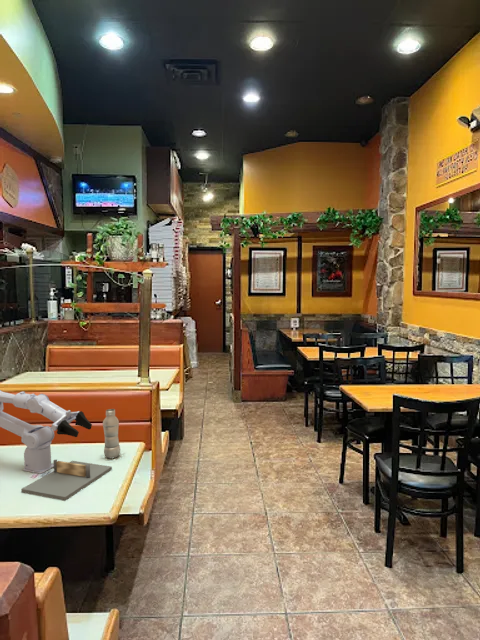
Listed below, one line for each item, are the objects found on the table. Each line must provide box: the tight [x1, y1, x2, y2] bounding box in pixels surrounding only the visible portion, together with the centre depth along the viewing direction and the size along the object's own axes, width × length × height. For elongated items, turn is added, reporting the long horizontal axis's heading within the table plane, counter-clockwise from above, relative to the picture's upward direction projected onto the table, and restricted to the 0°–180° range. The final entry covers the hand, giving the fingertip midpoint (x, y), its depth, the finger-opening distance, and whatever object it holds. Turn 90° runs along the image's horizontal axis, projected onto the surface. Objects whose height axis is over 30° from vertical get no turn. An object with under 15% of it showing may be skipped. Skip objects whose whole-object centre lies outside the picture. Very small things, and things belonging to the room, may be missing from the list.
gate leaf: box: [56, 460, 86, 477], centre depth 156 cm, size 13×1×4 cm, turn 71°
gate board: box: [20, 459, 113, 501], centre depth 154 cm, size 19×25×6 cm
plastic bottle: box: [102, 408, 121, 459], centre depth 174 cm, size 6×7×20 cm
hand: (84, 430), depth 158 cm, fingers open, 7 cm apart
